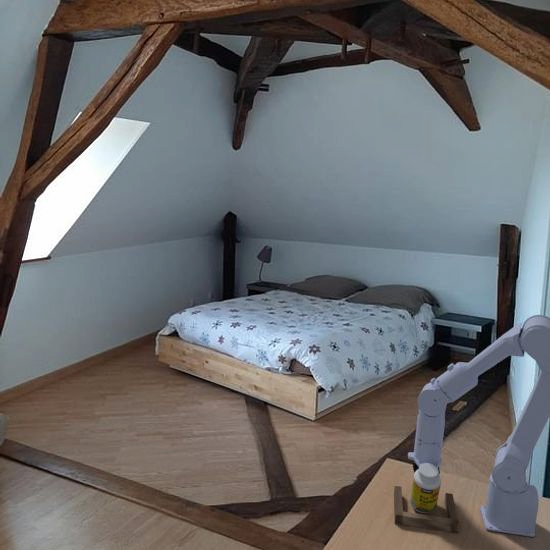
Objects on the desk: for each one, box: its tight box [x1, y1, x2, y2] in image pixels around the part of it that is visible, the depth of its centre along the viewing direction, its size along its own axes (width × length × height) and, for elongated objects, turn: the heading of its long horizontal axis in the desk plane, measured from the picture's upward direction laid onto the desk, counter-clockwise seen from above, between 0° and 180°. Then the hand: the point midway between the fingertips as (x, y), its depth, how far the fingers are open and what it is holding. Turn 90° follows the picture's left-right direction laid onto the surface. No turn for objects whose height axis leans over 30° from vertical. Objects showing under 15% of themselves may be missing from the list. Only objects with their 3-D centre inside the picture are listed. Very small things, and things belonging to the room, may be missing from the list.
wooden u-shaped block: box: [393, 485, 460, 534], centre depth 121 cm, size 12×11×2 cm
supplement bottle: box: [410, 463, 442, 515], centre depth 121 cm, size 6×6×10 cm
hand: (422, 494), depth 126 cm, fingers closed
